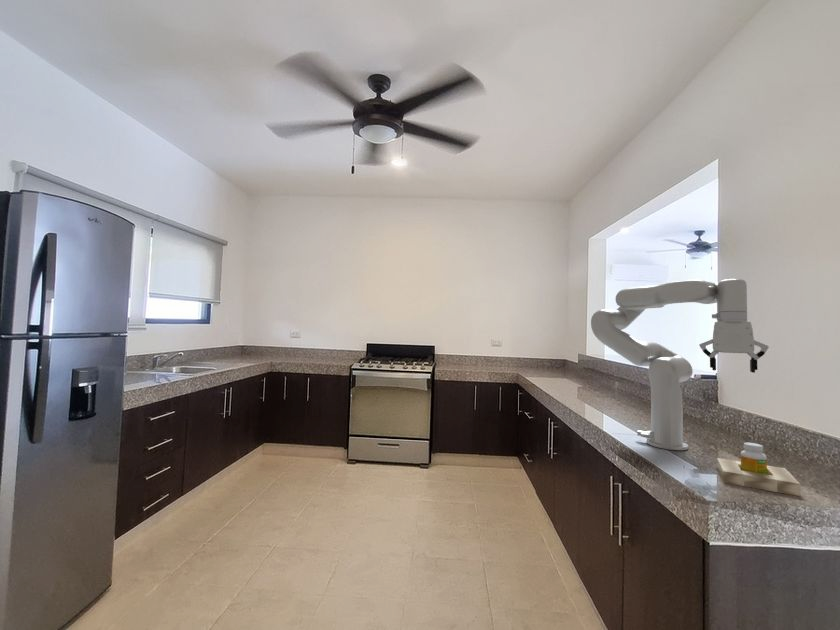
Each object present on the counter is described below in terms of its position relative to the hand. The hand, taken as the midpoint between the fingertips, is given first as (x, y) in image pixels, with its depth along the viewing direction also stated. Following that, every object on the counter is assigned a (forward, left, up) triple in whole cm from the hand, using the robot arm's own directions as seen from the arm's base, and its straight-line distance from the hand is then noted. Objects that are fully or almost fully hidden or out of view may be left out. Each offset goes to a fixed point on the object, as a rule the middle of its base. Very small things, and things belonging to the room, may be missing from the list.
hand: (733, 371), depth 124 cm
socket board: (+2, -19, -28) cm, 34 cm away
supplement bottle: (+2, -19, -28) cm, 34 cm away
